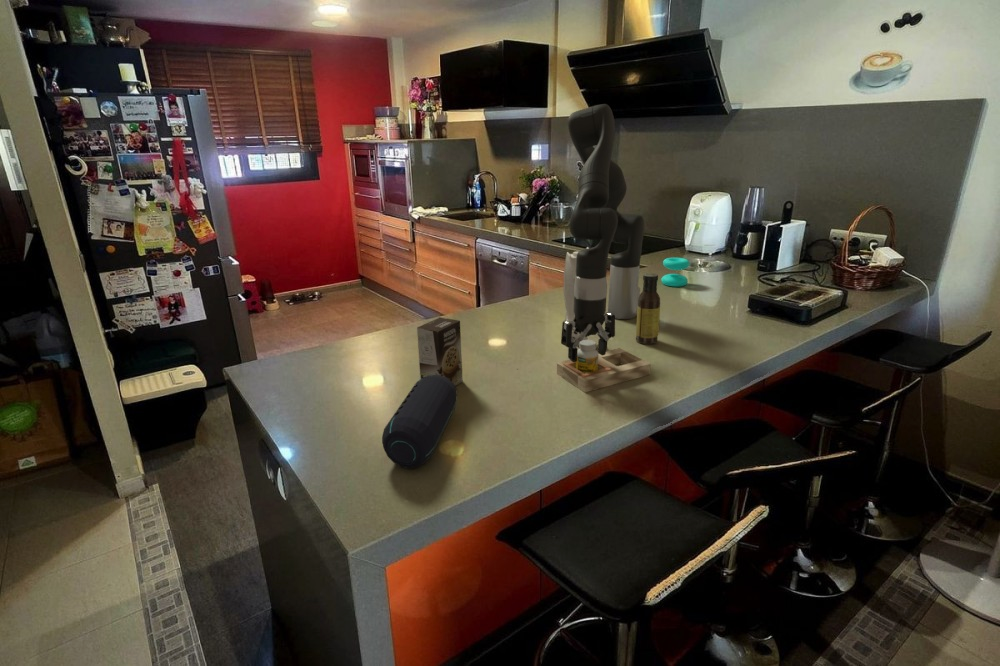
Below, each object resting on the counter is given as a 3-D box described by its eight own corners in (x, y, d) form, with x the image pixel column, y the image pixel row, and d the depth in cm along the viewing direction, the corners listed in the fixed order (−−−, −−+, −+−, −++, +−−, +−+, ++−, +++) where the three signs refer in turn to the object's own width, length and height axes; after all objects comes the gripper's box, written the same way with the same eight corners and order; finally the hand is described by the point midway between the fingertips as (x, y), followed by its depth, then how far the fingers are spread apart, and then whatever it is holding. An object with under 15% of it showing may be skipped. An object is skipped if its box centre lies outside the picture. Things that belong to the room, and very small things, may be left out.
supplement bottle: (598, 375, 134) (600, 339, 131) (595, 384, 129) (597, 347, 126) (577, 372, 136) (578, 337, 132) (573, 381, 131) (575, 345, 128)
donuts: (660, 256, 214) (685, 256, 213) (658, 281, 217) (682, 280, 217) (667, 262, 204) (693, 262, 204) (665, 287, 208) (690, 287, 208)
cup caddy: (618, 358, 144) (619, 346, 143) (649, 374, 134) (650, 362, 133) (556, 373, 135) (556, 361, 134) (584, 392, 125) (584, 379, 124)
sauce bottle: (662, 342, 154) (668, 275, 147) (647, 346, 151) (653, 278, 144) (645, 335, 159) (650, 270, 152) (630, 340, 156) (635, 274, 149)
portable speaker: (418, 408, 120) (415, 367, 116) (461, 410, 118) (459, 369, 115) (377, 474, 97) (371, 426, 93) (430, 478, 95) (426, 430, 92)
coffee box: (441, 396, 125) (437, 331, 119) (420, 389, 128) (415, 327, 122) (464, 381, 132) (461, 320, 126) (443, 375, 135) (439, 315, 130)
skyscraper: (594, 341, 156) (598, 246, 146) (579, 348, 151) (582, 250, 141) (571, 334, 161) (574, 243, 151) (557, 341, 156) (559, 247, 146)
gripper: (604, 286, 131) (601, 347, 137) (556, 294, 125) (554, 358, 131) (624, 293, 125) (620, 357, 130) (574, 302, 119) (572, 369, 124)
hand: (587, 357), depth 130 cm, fingers open, 8 cm apart
